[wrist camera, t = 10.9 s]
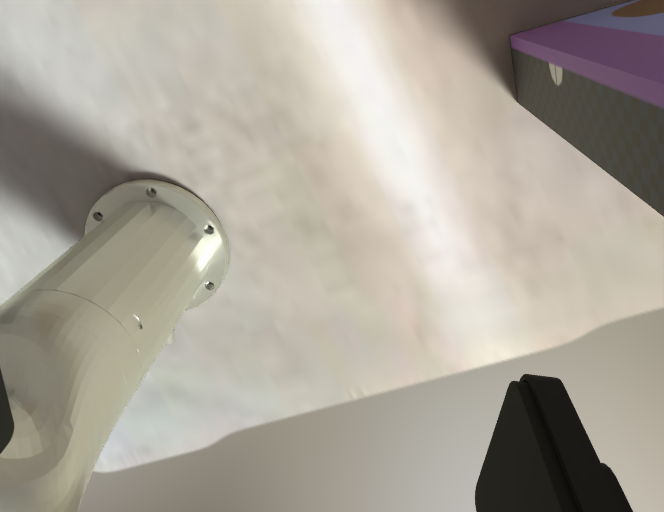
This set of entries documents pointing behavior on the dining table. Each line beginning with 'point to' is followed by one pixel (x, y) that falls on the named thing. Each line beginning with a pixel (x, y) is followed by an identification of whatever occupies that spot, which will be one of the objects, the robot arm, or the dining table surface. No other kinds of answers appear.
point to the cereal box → (602, 89)
